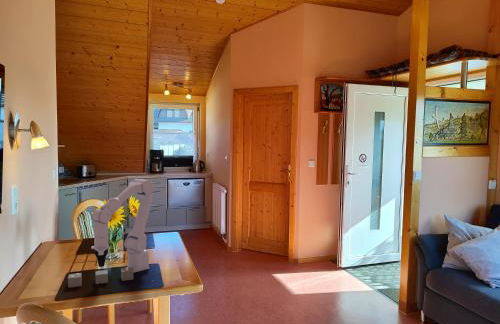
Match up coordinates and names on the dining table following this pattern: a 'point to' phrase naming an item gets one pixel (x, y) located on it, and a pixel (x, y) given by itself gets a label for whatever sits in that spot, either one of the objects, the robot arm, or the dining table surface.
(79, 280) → the dotted block
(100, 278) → the plain block
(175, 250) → the dining table surface
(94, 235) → the robot arm
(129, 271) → the barred block
